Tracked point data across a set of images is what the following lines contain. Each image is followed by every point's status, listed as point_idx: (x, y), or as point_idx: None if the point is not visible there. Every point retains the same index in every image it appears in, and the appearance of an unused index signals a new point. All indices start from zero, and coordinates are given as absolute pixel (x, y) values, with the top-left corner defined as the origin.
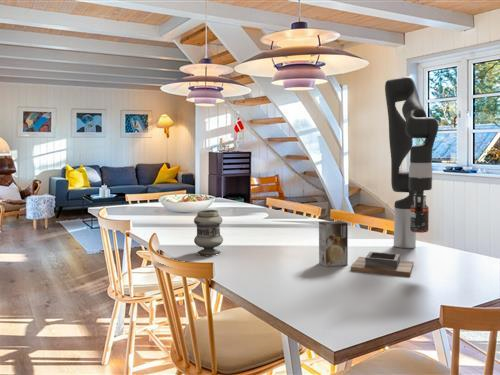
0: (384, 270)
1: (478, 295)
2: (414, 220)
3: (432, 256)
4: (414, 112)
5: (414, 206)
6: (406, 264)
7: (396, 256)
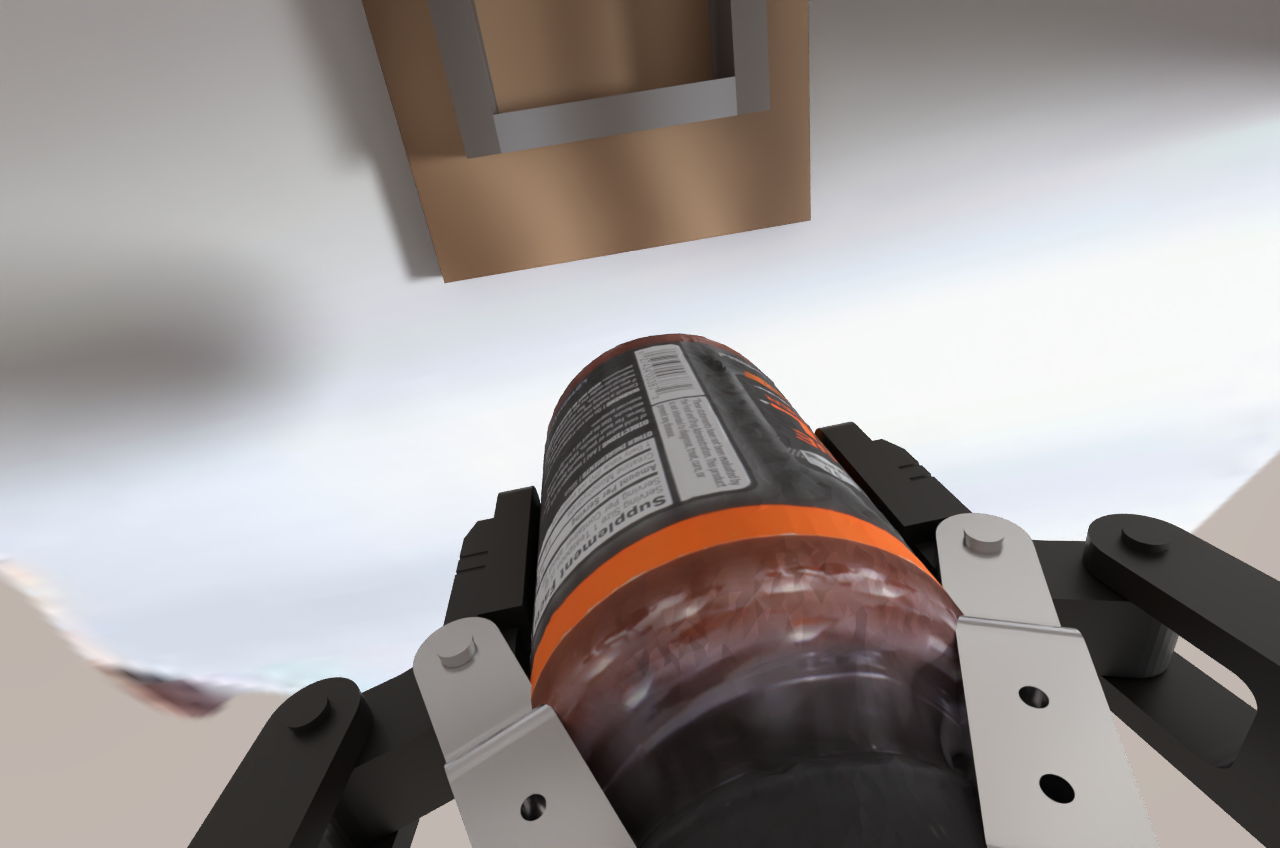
0: (379, 53)
1: (324, 652)
2: (543, 502)
3: (1142, 277)
4: None
5: (449, 781)
6: (686, 191)
7: (647, 104)
